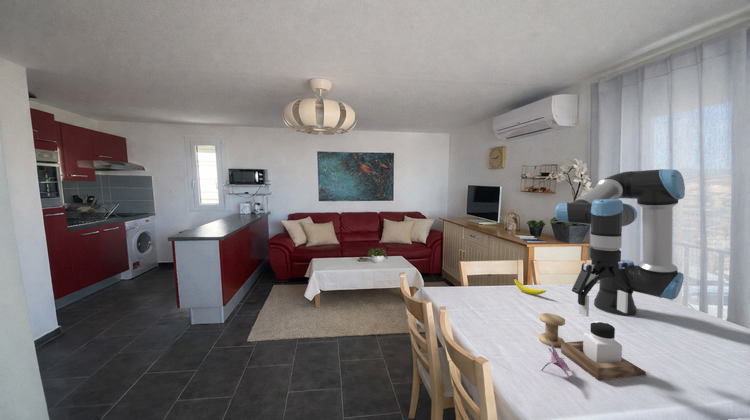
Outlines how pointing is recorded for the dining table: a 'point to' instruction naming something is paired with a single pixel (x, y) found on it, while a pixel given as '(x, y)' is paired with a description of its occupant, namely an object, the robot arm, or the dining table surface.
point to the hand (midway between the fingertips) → (603, 312)
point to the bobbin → (551, 329)
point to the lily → (557, 360)
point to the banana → (528, 290)
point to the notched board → (599, 370)
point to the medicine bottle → (602, 343)
